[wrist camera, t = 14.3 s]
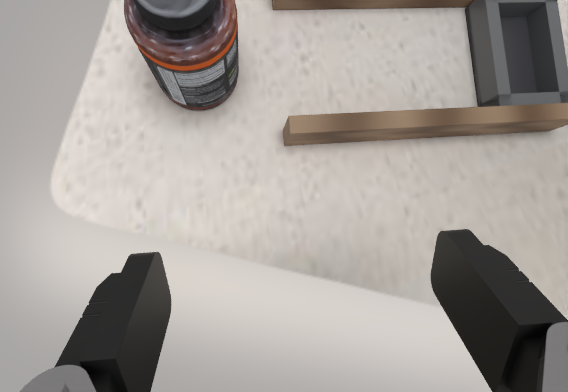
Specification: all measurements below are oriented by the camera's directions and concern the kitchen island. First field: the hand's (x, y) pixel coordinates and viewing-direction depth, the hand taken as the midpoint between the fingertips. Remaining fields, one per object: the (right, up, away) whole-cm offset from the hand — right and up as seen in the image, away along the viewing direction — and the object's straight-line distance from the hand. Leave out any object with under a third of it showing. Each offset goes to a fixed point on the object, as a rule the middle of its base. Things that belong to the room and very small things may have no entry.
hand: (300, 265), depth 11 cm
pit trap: (+18, +13, +21) cm, 30 cm away
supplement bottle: (-7, +11, +18) cm, 22 cm away
